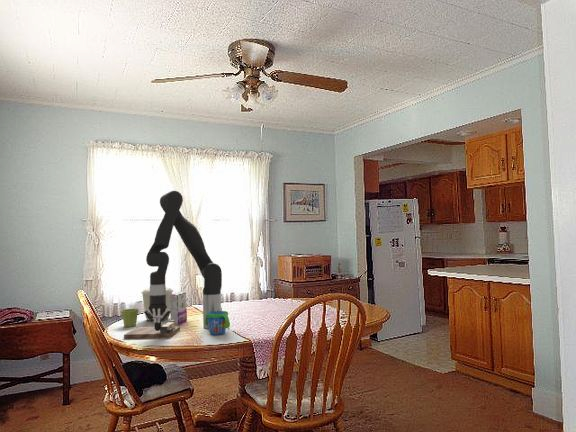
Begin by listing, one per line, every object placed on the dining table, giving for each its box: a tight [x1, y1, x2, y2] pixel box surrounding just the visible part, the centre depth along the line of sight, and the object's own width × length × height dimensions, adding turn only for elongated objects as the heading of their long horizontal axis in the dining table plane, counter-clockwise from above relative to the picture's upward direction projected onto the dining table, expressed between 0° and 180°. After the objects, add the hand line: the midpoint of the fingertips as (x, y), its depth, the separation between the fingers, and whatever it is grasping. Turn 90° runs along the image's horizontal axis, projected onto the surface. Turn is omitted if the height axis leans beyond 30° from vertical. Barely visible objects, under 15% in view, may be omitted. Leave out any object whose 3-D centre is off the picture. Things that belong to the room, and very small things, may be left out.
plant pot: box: [120, 308, 140, 328], centre depth 234 cm, size 9×9×9 cm
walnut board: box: [123, 326, 181, 340], centre depth 210 cm, size 22×16×4 cm
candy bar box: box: [170, 291, 188, 326], centre depth 239 cm, size 11×5×16 cm, turn 168°
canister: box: [141, 287, 174, 321], centre depth 252 cm, size 18×18×21 cm
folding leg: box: [160, 319, 176, 334], centre depth 209 cm, size 14×3×4 cm, turn 177°
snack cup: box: [205, 310, 231, 336], centre depth 208 cm, size 16×10×10 cm
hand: (157, 330), depth 204 cm, fingers closed
